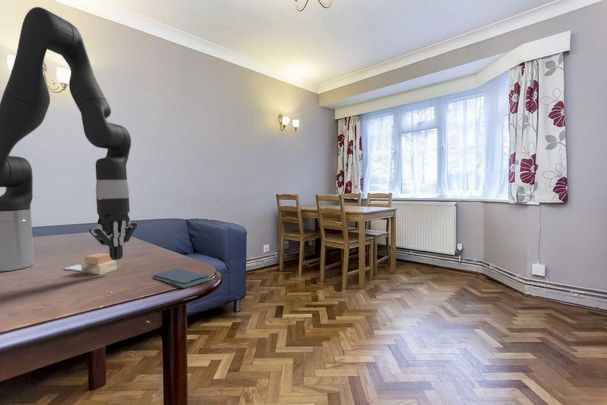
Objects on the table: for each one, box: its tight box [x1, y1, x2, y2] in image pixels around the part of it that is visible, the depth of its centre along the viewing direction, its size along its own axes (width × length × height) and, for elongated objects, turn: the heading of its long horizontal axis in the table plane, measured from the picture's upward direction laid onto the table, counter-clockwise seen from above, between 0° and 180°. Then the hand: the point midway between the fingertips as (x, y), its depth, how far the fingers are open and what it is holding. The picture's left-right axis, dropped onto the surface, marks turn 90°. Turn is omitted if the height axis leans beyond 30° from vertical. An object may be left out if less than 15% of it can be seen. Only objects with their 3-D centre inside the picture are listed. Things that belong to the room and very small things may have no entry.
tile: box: [84, 252, 113, 265], centre depth 83 cm, size 5×4×2 cm
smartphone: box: [152, 268, 210, 289], centre depth 76 cm, size 8×2×15 cm
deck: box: [80, 260, 118, 275], centre depth 84 cm, size 7×5×2 cm
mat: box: [63, 264, 83, 273], centre depth 86 cm, size 8×4×1 cm, turn 72°
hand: (116, 259), depth 81 cm, fingers closed
